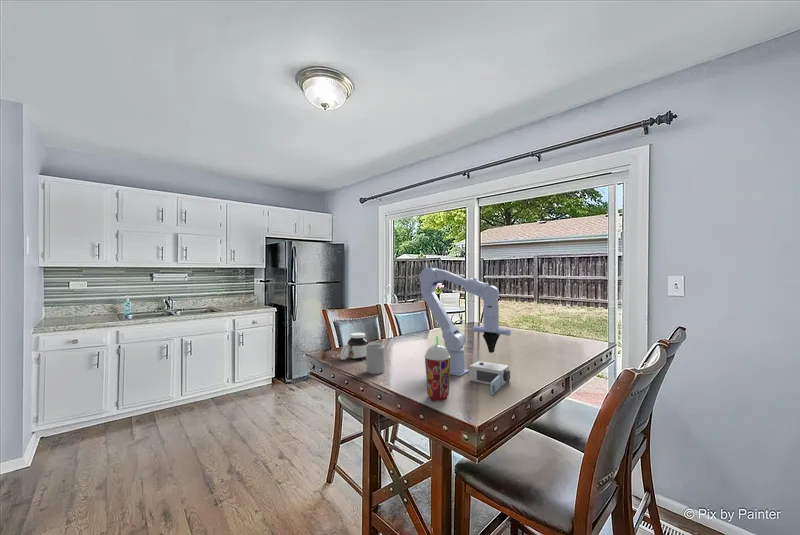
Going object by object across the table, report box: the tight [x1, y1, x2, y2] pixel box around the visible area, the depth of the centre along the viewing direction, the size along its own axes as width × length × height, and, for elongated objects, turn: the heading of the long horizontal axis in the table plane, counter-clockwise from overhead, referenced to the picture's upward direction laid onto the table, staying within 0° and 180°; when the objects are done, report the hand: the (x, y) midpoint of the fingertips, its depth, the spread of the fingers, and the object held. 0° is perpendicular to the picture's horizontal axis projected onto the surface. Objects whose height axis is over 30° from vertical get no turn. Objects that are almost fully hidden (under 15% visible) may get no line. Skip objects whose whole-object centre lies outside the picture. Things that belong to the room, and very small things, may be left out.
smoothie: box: [424, 335, 451, 402], centre depth 110 cm, size 8×8×20 cm
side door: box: [489, 374, 503, 396], centre depth 115 cm, size 11×2×4 cm, turn 148°
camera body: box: [469, 360, 511, 388], centre depth 127 cm, size 13×8×6 cm, turn 54°
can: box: [365, 341, 386, 375], centre depth 139 cm, size 8×8×12 cm
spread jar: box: [340, 332, 369, 361], centre depth 160 cm, size 12×11×12 cm
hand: (491, 352), depth 132 cm, fingers closed
